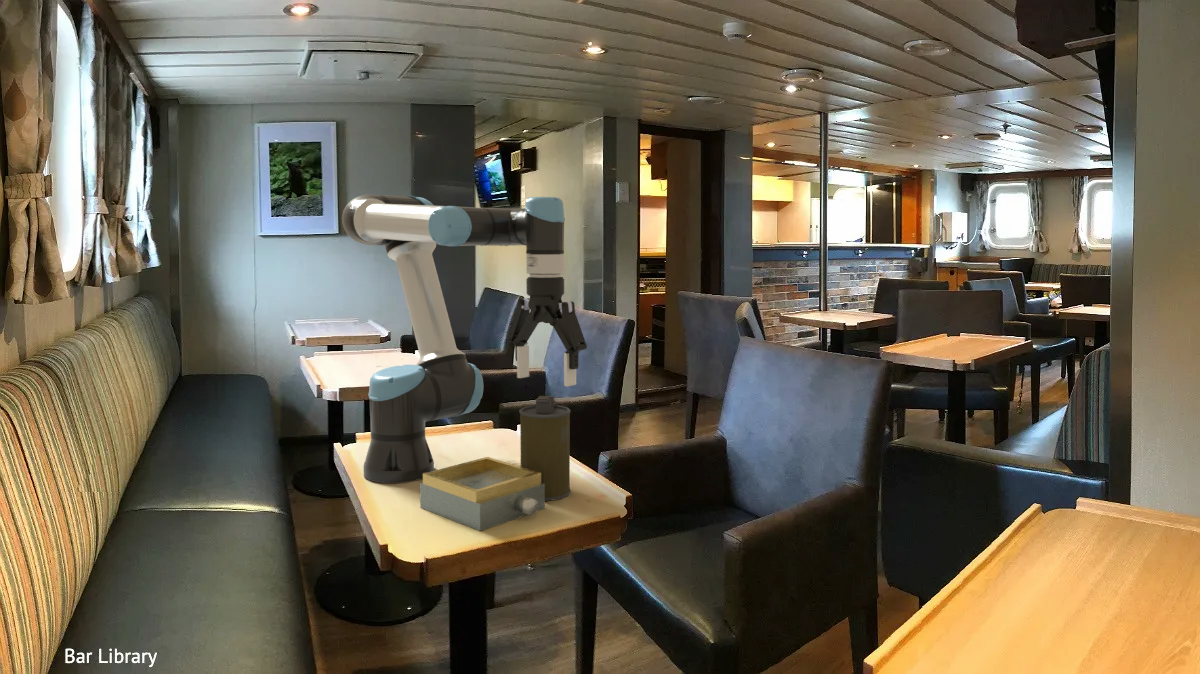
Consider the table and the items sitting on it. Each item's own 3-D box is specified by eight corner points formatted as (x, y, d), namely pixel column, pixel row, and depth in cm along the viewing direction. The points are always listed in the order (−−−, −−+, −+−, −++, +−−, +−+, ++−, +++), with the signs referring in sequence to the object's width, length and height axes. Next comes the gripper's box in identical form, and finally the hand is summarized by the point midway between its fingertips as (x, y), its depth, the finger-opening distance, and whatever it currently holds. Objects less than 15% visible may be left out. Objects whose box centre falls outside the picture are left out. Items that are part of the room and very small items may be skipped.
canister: (563, 502, 157) (563, 403, 155) (513, 499, 159) (512, 401, 157) (576, 486, 168) (576, 393, 165) (528, 482, 170) (528, 390, 167)
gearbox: (420, 507, 154) (419, 472, 153) (484, 488, 166) (484, 455, 165) (491, 535, 140) (490, 497, 139) (555, 512, 152) (555, 476, 151)
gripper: (489, 274, 163) (491, 376, 166) (577, 278, 147) (578, 391, 149) (517, 273, 169) (518, 371, 171) (604, 277, 152) (604, 386, 155)
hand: (546, 381), depth 160 cm, fingers open, 13 cm apart
